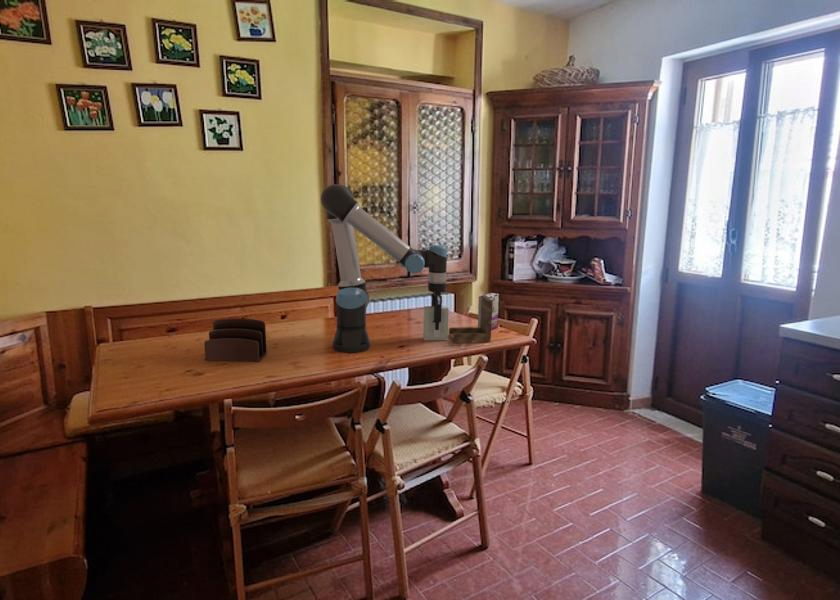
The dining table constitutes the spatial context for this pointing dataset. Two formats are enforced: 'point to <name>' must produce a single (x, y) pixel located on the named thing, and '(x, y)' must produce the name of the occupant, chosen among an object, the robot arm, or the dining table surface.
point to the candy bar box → (495, 305)
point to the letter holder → (236, 340)
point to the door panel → (429, 324)
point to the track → (476, 332)
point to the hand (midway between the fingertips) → (435, 335)
